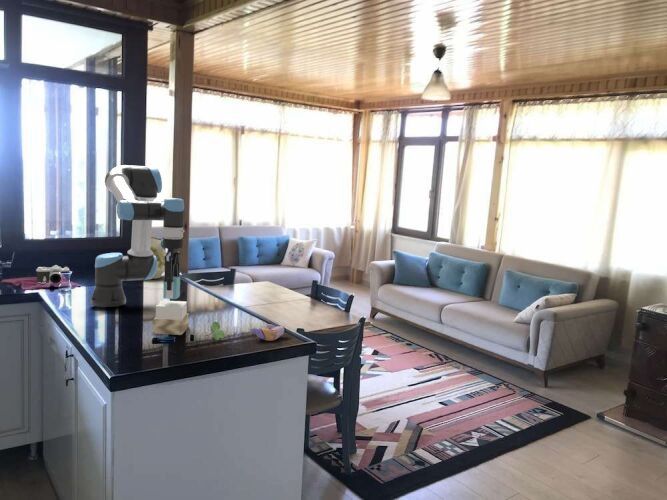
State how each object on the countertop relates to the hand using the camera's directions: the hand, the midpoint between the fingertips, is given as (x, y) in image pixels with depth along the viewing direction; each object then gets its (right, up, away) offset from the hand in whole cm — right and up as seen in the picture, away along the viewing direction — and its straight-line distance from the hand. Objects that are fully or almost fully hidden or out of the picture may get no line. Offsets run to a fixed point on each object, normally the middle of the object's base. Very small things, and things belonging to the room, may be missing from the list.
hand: (171, 296), depth 212 cm
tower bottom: (-1, -14, +2) cm, 14 cm away
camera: (-85, +1, +73) cm, 112 cm away
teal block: (0, 0, 0) cm, 0 cm away
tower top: (0, -8, +1) cm, 8 cm away
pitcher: (-46, +2, +106) cm, 116 cm away
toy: (+33, -13, -7) cm, 36 cm away
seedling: (+14, -15, -4) cm, 21 cm away
